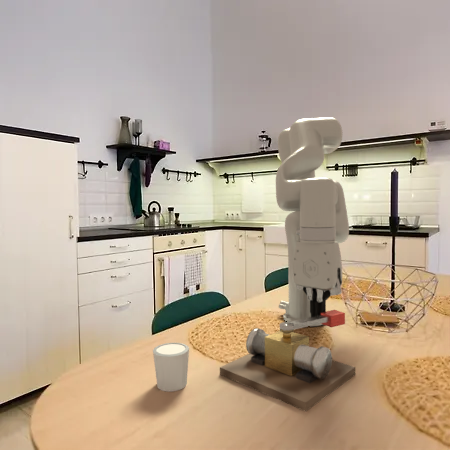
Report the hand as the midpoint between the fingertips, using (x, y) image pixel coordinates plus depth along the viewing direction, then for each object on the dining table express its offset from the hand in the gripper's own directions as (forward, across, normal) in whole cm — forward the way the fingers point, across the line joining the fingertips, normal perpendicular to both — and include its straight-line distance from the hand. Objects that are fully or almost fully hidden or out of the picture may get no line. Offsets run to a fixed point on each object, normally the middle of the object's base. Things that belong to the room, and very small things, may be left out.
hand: (317, 317), depth 85 cm
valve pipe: (+7, 0, -12) cm, 14 cm away
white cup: (+9, -14, -30) cm, 34 cm away
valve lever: (+1, +2, -6) cm, 6 cm away
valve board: (+9, 0, -12) cm, 15 cm away
